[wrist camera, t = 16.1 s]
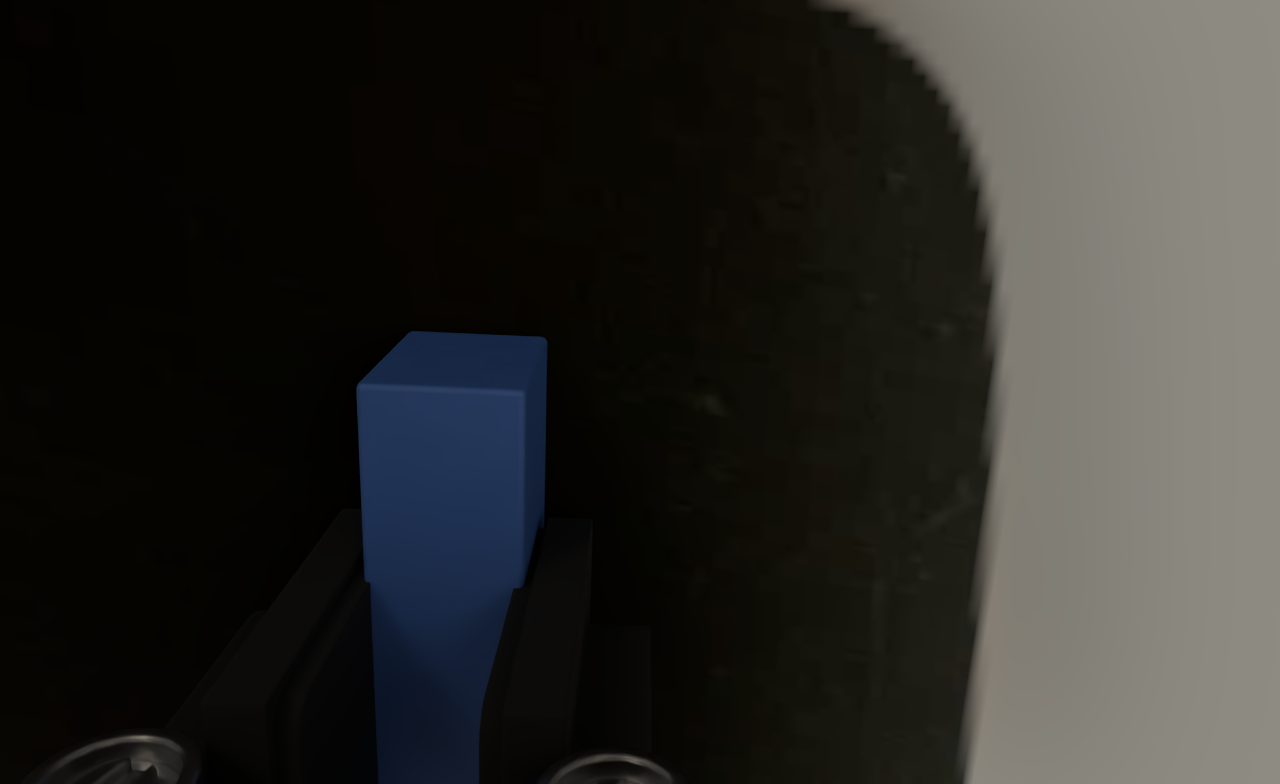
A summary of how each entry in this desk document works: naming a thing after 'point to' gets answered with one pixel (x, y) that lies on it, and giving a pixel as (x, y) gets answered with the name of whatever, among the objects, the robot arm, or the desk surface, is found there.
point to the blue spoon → (446, 534)
